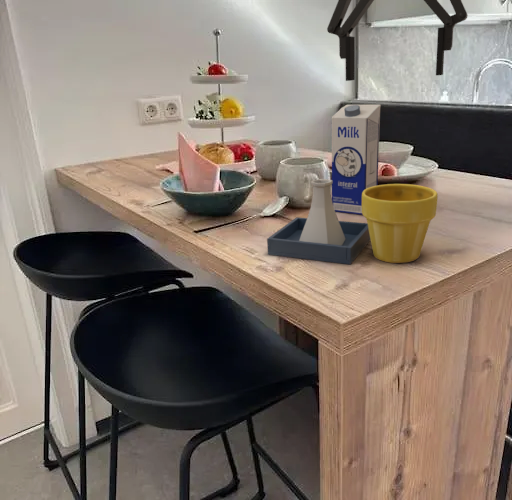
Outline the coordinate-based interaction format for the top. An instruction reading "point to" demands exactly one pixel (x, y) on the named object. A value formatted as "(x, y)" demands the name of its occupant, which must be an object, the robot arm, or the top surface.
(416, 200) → the flower pot
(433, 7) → the robot arm
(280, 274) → the top surface
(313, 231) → the flask
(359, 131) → the milk carton
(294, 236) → the tray
